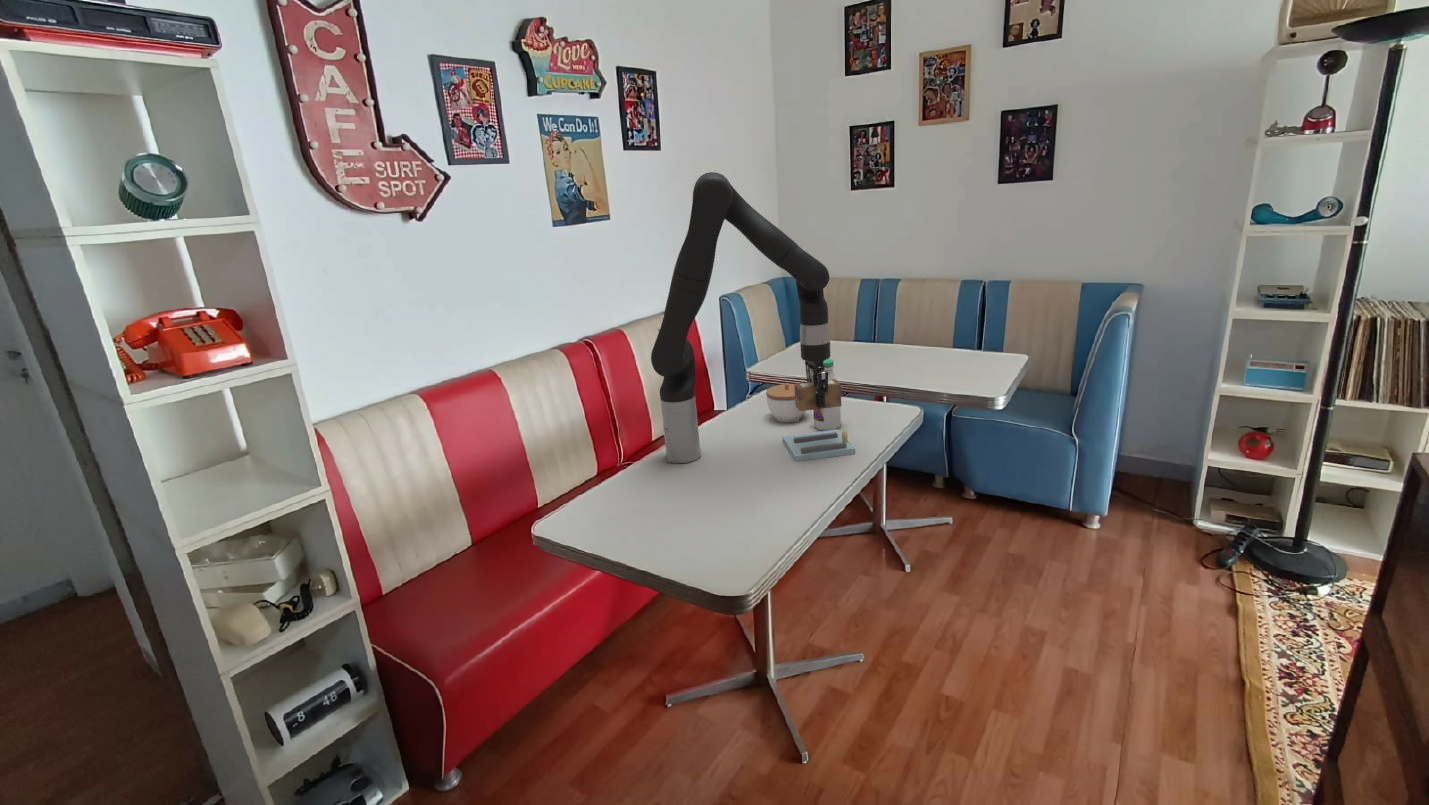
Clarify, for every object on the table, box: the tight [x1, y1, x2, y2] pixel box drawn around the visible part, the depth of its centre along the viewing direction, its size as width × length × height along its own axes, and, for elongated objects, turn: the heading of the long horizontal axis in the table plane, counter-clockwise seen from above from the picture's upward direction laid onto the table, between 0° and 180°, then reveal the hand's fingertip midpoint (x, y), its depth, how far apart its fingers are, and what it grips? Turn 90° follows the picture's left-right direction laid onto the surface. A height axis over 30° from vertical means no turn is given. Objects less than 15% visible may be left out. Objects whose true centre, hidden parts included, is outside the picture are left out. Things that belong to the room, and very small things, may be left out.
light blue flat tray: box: [781, 428, 856, 463], centre depth 187 cm, size 16×15×4 cm
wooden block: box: [793, 378, 842, 412], centre depth 181 cm, size 11×5×6 cm, turn 97°
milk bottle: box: [812, 358, 842, 431], centre depth 199 cm, size 8×8×20 cm
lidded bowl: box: [765, 382, 806, 423], centre depth 210 cm, size 13×13×11 cm
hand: (817, 403), depth 182 cm, fingers closed on wooden block, 5 cm apart
